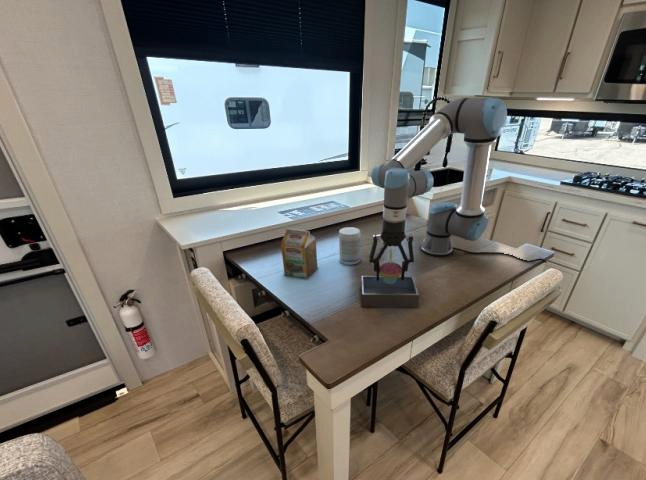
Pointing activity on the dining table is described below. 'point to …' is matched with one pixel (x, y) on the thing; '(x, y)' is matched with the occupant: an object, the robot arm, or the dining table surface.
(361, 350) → the dining table surface
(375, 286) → the open rectangular bin
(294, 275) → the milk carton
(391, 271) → the cupcake
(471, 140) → the robot arm
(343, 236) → the supplement tub
